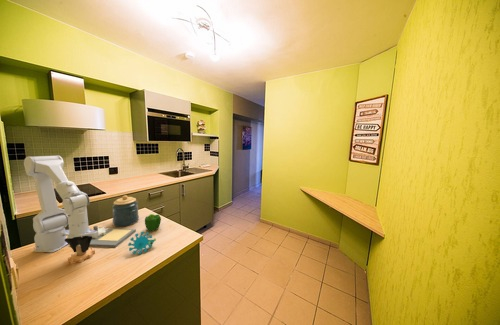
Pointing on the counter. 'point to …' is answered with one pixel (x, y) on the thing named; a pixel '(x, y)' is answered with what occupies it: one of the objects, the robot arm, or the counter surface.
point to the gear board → (110, 237)
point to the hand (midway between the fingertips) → (81, 250)
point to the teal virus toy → (141, 242)
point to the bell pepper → (152, 222)
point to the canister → (125, 211)
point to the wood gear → (80, 255)
